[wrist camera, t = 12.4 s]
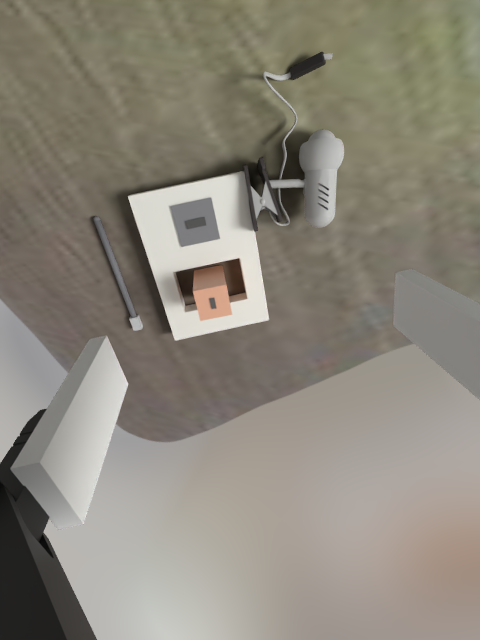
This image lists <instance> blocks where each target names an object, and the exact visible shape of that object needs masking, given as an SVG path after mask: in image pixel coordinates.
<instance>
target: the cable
mask: <svg viewBox="0 0 480 640" xmlns="http://www.w3.org/2000/svg"><path fill="white" fill-rule="evenodd" d="M93 220H94V223H95V225H96V228H97V230H98V233H99V236H100V238H101V241H102V243H103V246H104V248H105V251H106V254H107V256H108V259H109V261H110V264H111V267H112V269H113V272H114V274H115V277H116V279H117V282H118V285H119V287H120V290H121V292H122V295H123V297H124V300H125V303H126V305H127V308H128V310H129V313H130V315H131V316H130V319H129V320H130V322H131V325H132V327H133V330H134V331H136V330H141V329H142V328H143V325H142V322H141V320H140V317H139V315H136V312H135V310H134V307H133V304H132V302H131V299H130V296H129V294H128V291H127V288H126V286H125V283H124V281H123V278H122V275H121V273H120V270H119V267H118V265H117V262H116V259H115V257H114V254H113V251H112V249H111V246H110V244H109V241H108V238H107V236H106V233H105V230H104V228H103V225H102V222H101V220H100V218H99V217H97V216H96V217H94V219H93Z"/></svg>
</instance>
